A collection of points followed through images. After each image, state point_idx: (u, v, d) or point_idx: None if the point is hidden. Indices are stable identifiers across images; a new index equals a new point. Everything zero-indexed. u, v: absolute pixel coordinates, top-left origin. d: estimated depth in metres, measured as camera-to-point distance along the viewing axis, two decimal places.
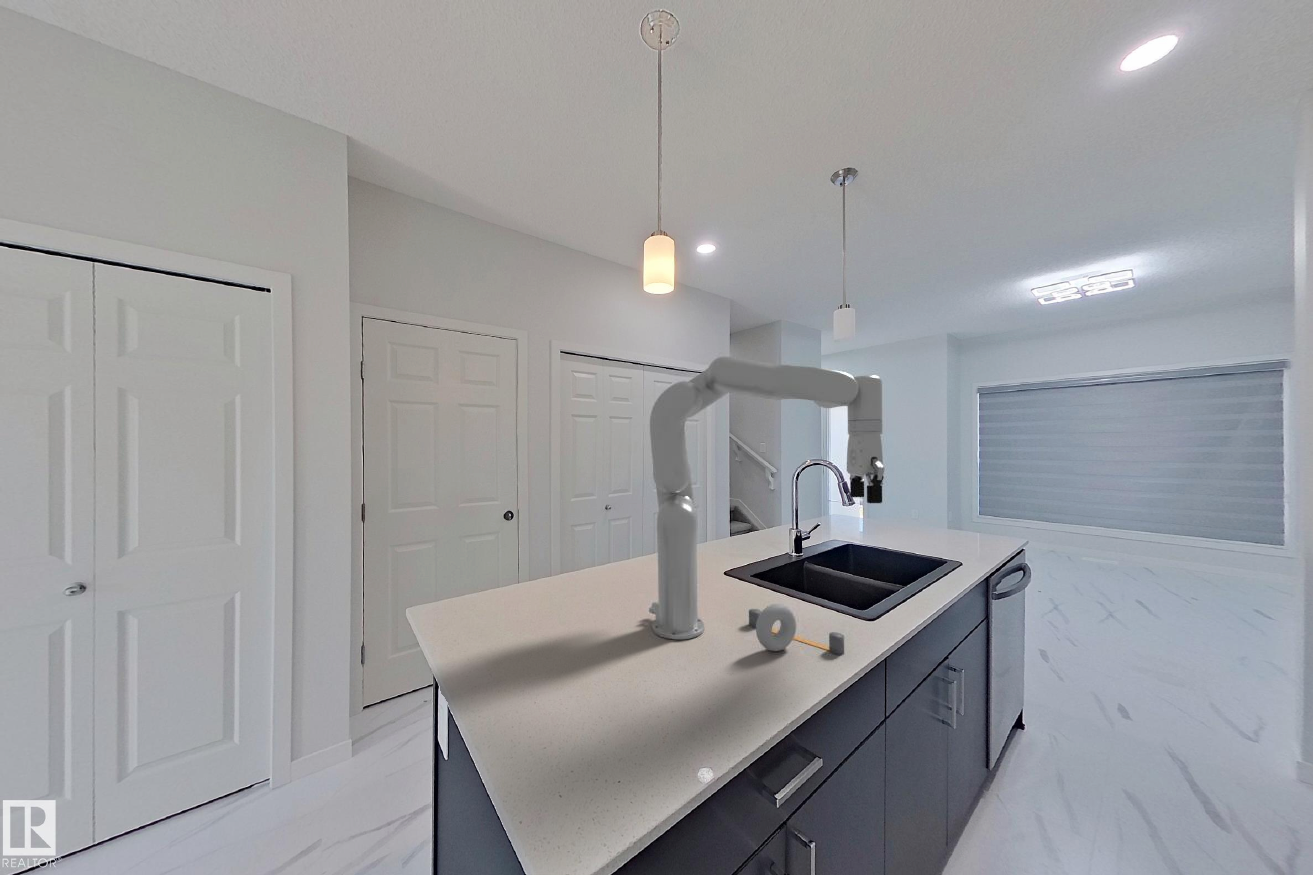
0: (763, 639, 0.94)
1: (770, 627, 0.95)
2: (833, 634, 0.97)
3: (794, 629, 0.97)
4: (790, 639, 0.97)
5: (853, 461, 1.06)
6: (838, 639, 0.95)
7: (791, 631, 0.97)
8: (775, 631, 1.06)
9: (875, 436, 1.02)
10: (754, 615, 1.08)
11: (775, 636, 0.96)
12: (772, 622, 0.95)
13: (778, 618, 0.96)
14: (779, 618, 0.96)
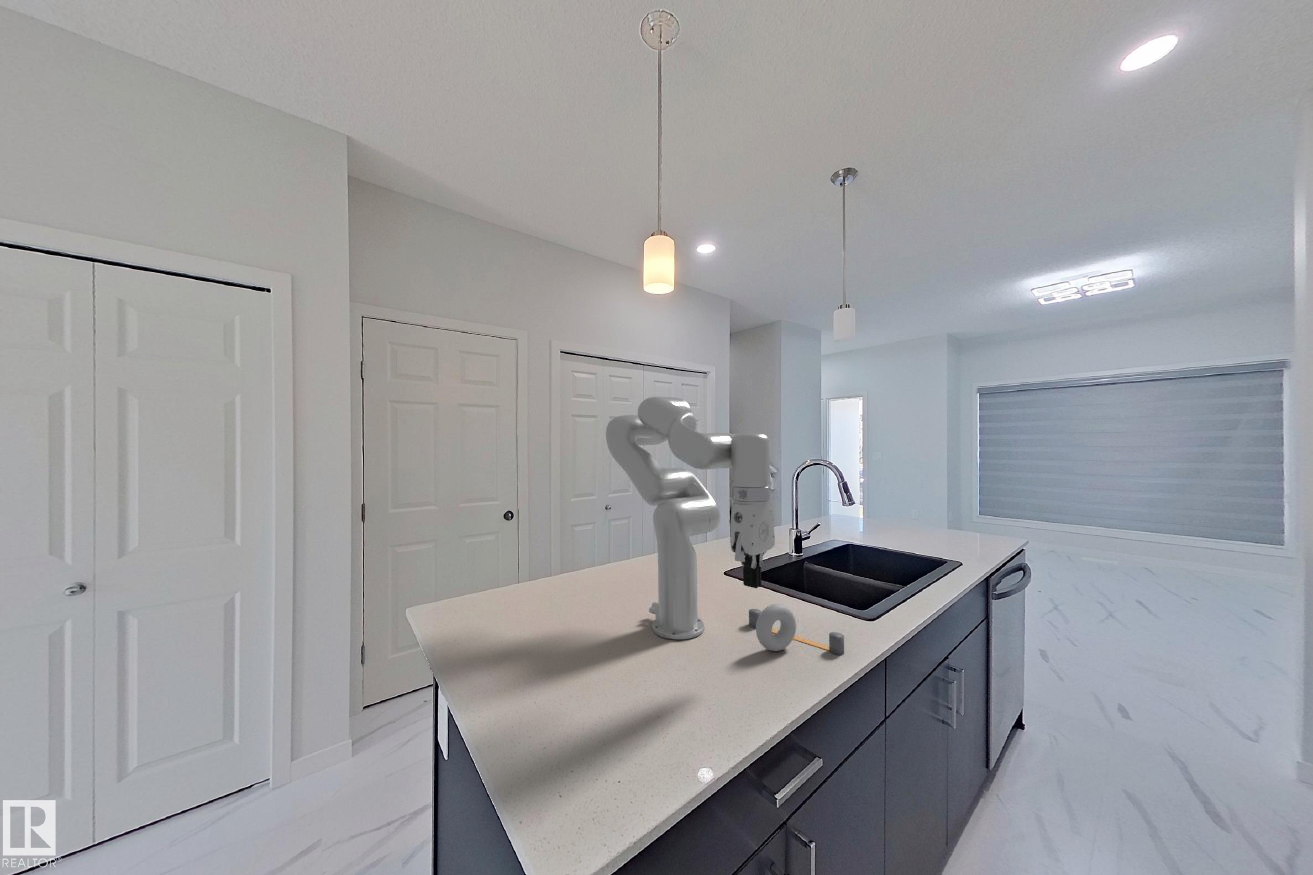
0: (763, 639, 0.94)
1: (770, 627, 0.95)
2: (833, 634, 0.97)
3: (794, 629, 0.97)
4: (790, 639, 0.97)
5: (763, 535, 0.88)
6: (838, 639, 0.95)
7: (791, 631, 0.97)
8: (775, 631, 1.06)
9: None
10: (754, 615, 1.08)
11: (775, 636, 0.96)
12: (772, 622, 0.95)
13: (778, 618, 0.96)
14: (779, 618, 0.96)
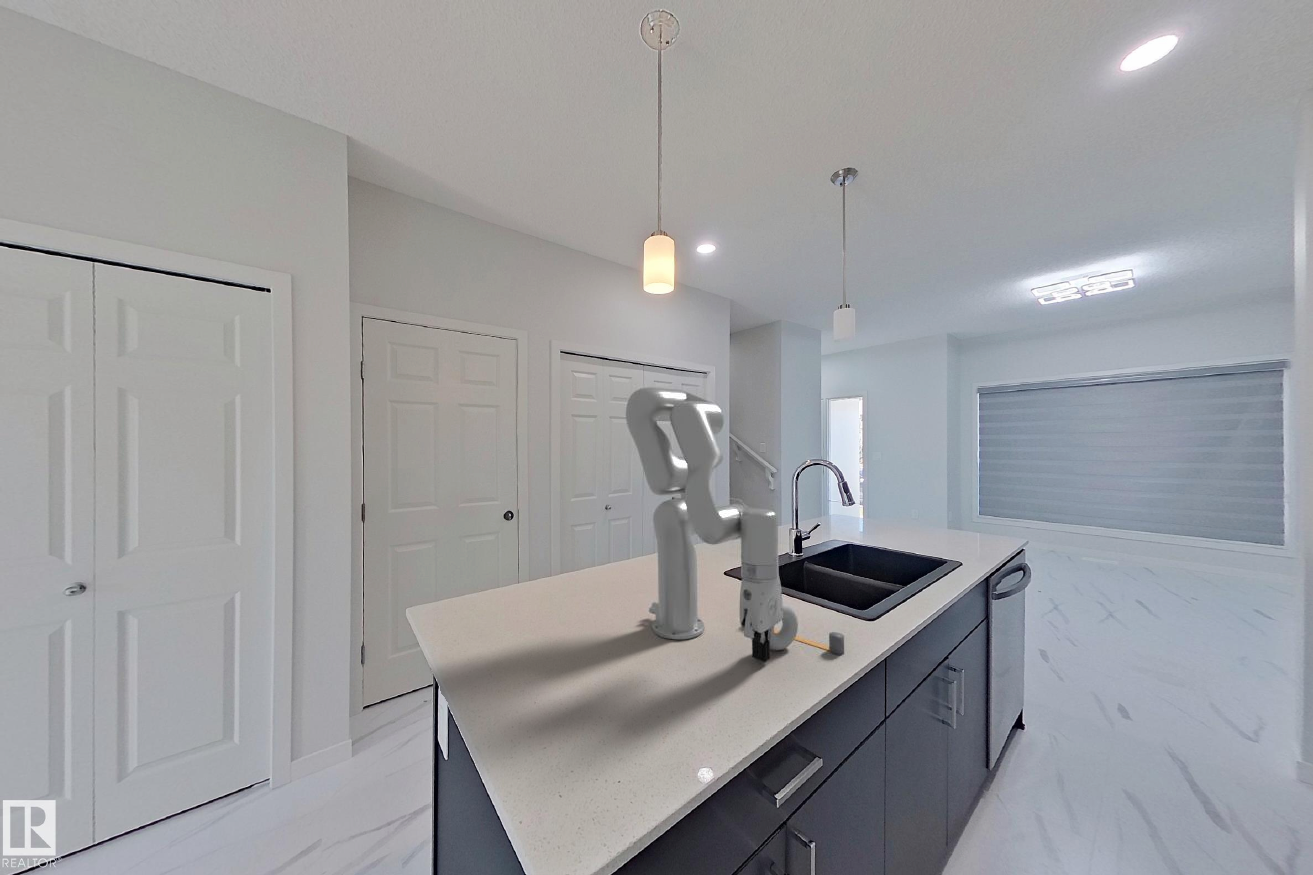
0: None
1: None
2: (833, 634, 0.97)
3: (796, 628, 0.98)
4: (792, 638, 0.97)
5: (772, 611, 0.90)
6: (838, 639, 0.95)
7: (793, 630, 0.97)
8: (775, 631, 1.06)
9: None
10: None
11: (777, 635, 0.97)
12: None
13: None
14: None
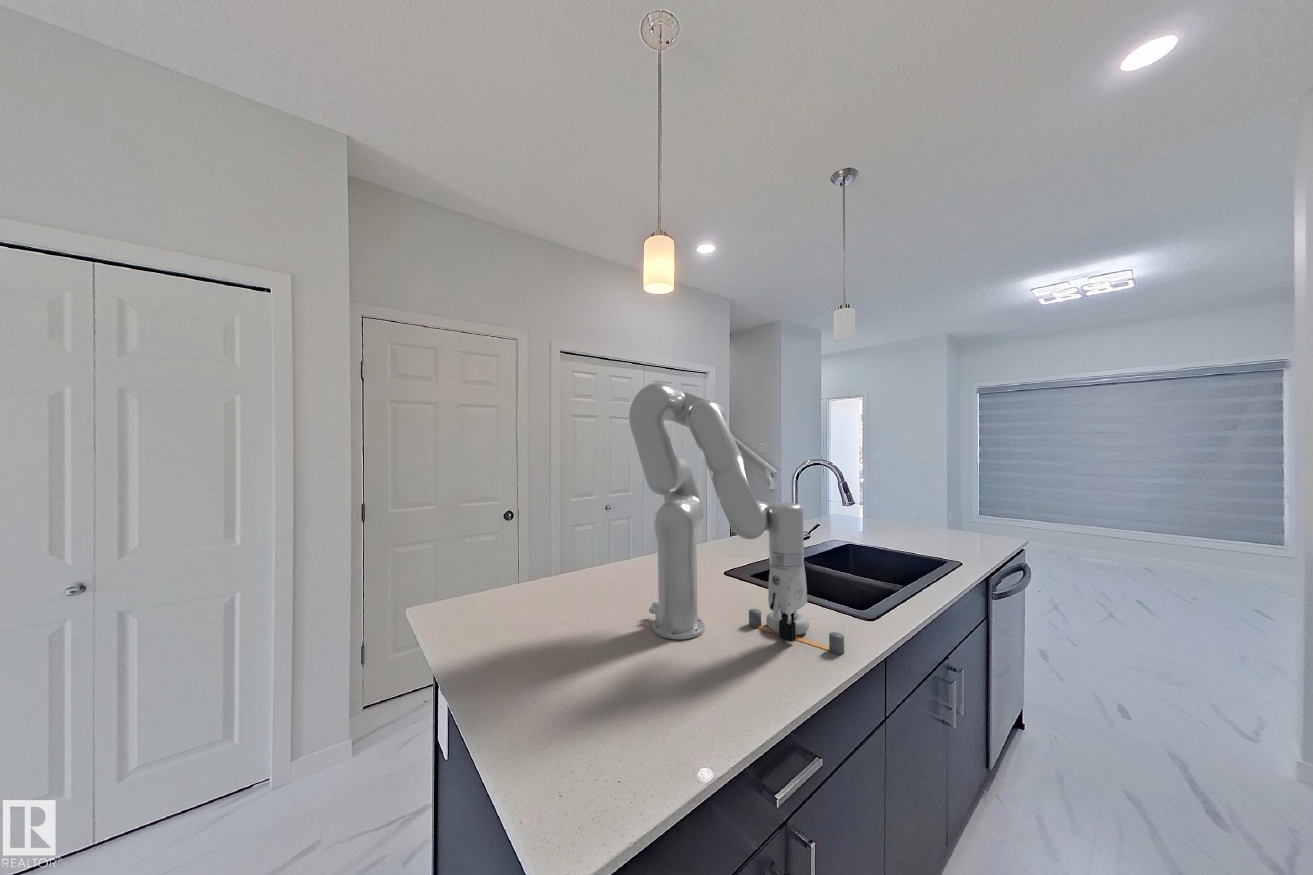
0: (768, 616, 1.08)
1: None
2: (833, 634, 0.97)
3: (803, 618, 1.06)
4: (797, 620, 1.04)
5: (798, 595, 0.99)
6: (838, 639, 0.95)
7: (799, 618, 1.06)
8: None
9: None
10: (754, 615, 1.08)
11: None
12: None
13: None
14: None
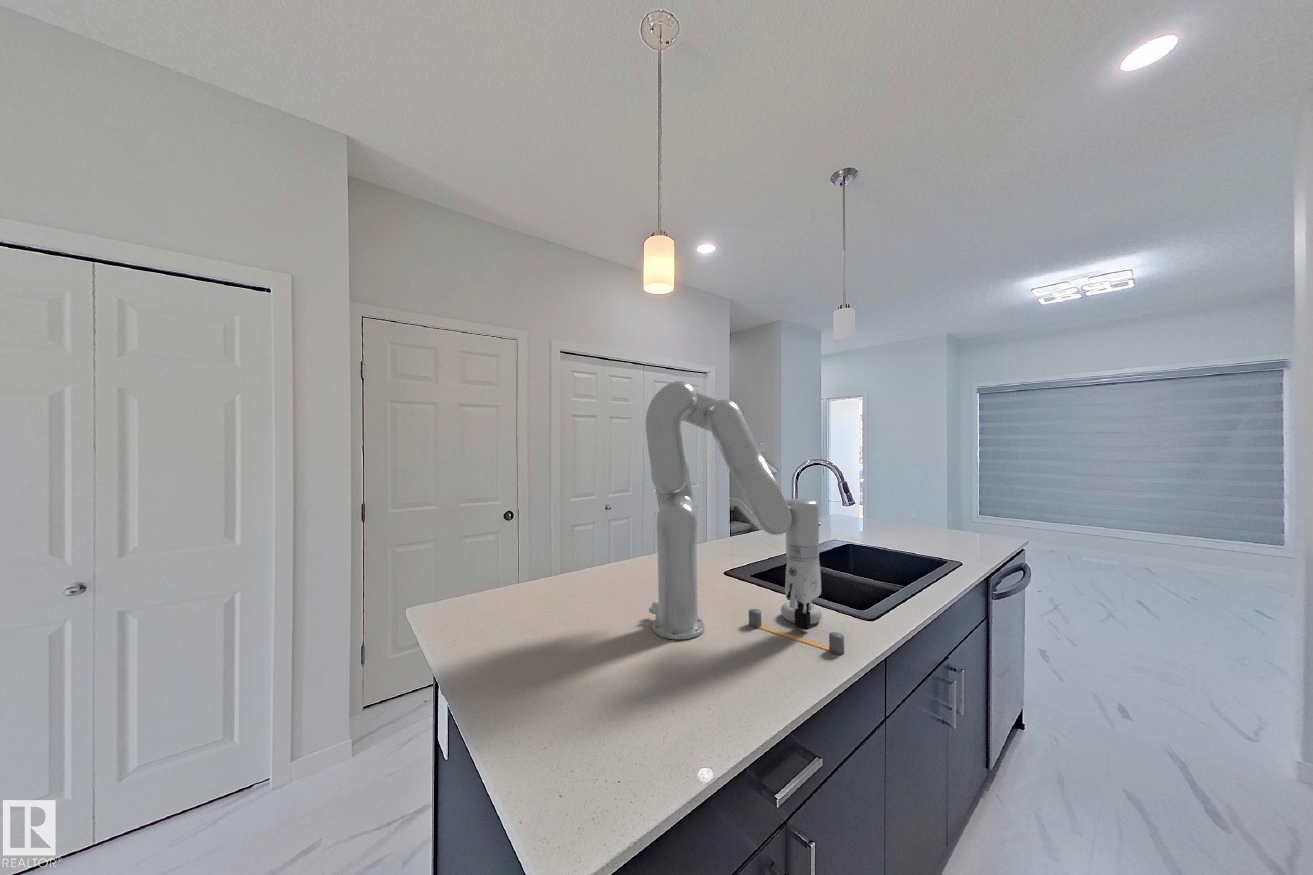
0: (783, 606, 1.14)
1: None
2: (833, 634, 0.97)
3: (816, 609, 1.11)
4: (810, 610, 1.10)
5: (813, 586, 1.05)
6: (838, 639, 0.95)
7: (812, 608, 1.12)
8: (775, 631, 1.06)
9: None
10: (754, 615, 1.08)
11: None
12: None
13: None
14: None
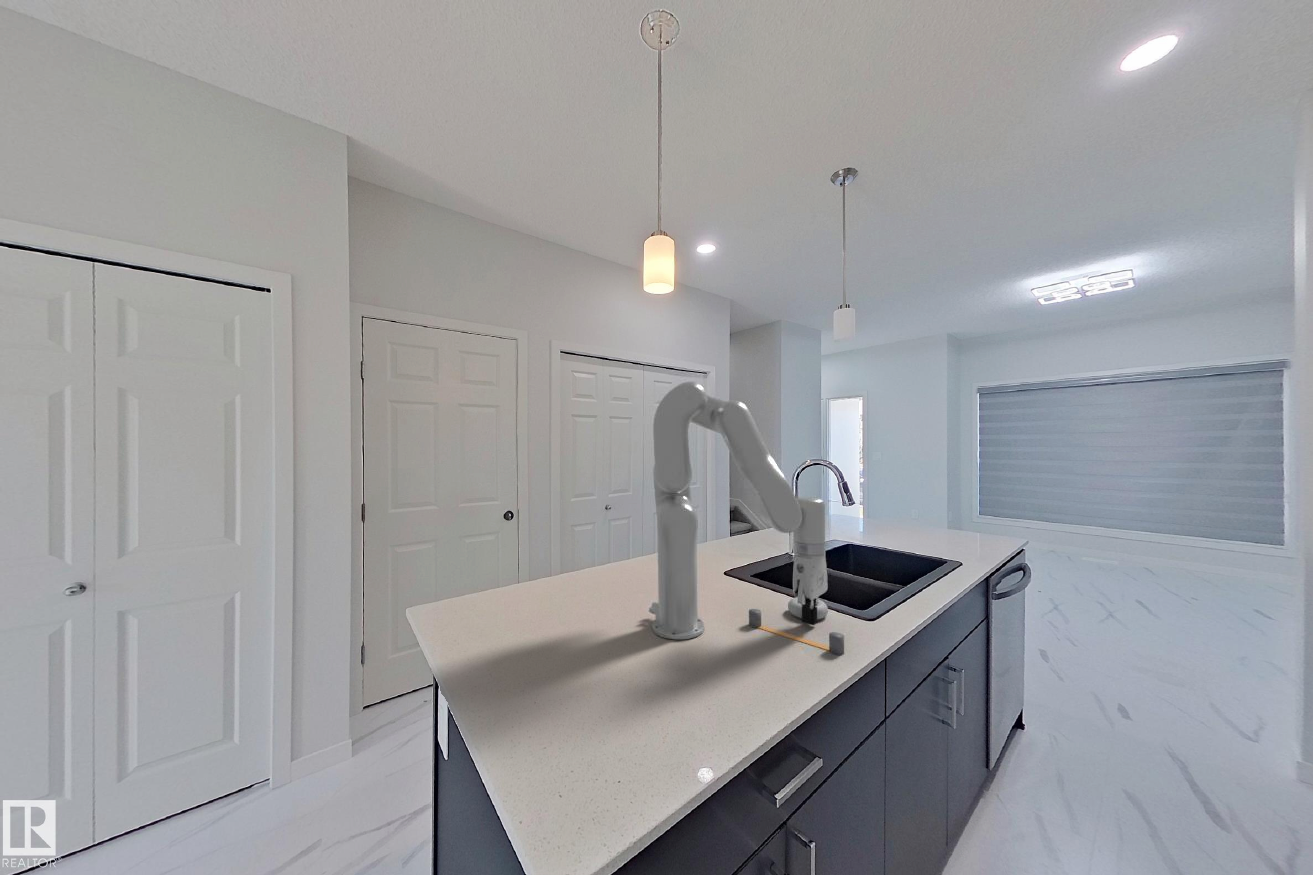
0: (790, 602, 1.17)
1: (797, 598, 1.18)
2: (833, 634, 0.97)
3: (822, 604, 1.14)
4: None
5: (820, 582, 1.08)
6: (838, 639, 0.95)
7: (818, 604, 1.14)
8: (775, 631, 1.06)
9: None
10: (754, 615, 1.08)
11: None
12: None
13: None
14: None
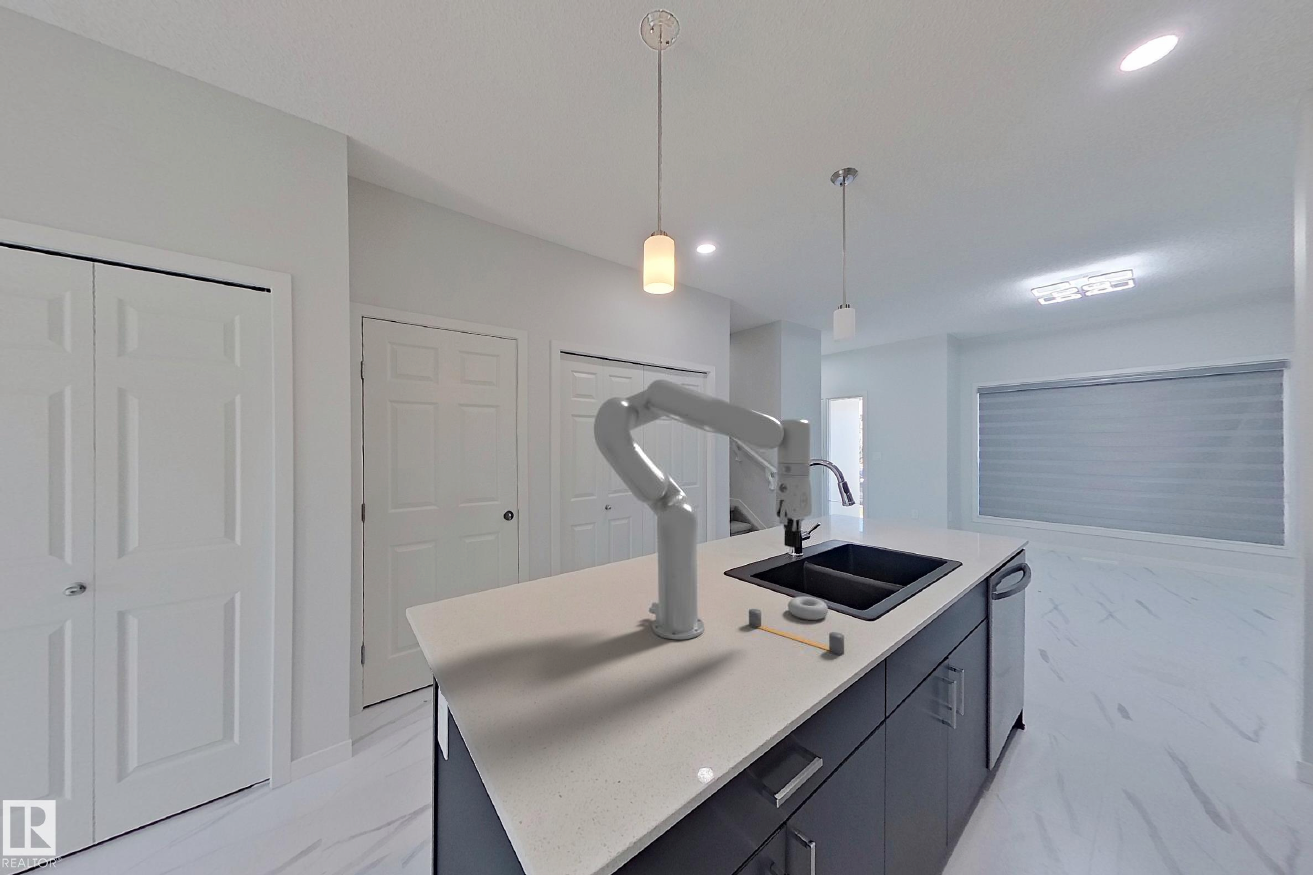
0: (790, 602, 1.17)
1: (797, 598, 1.18)
2: (833, 634, 0.97)
3: (822, 604, 1.14)
4: (816, 606, 1.13)
5: (803, 504, 1.06)
6: (838, 639, 0.95)
7: (818, 604, 1.14)
8: (775, 631, 1.06)
9: None
10: (754, 615, 1.08)
11: None
12: (799, 597, 1.19)
13: (806, 598, 1.19)
14: (808, 599, 1.19)
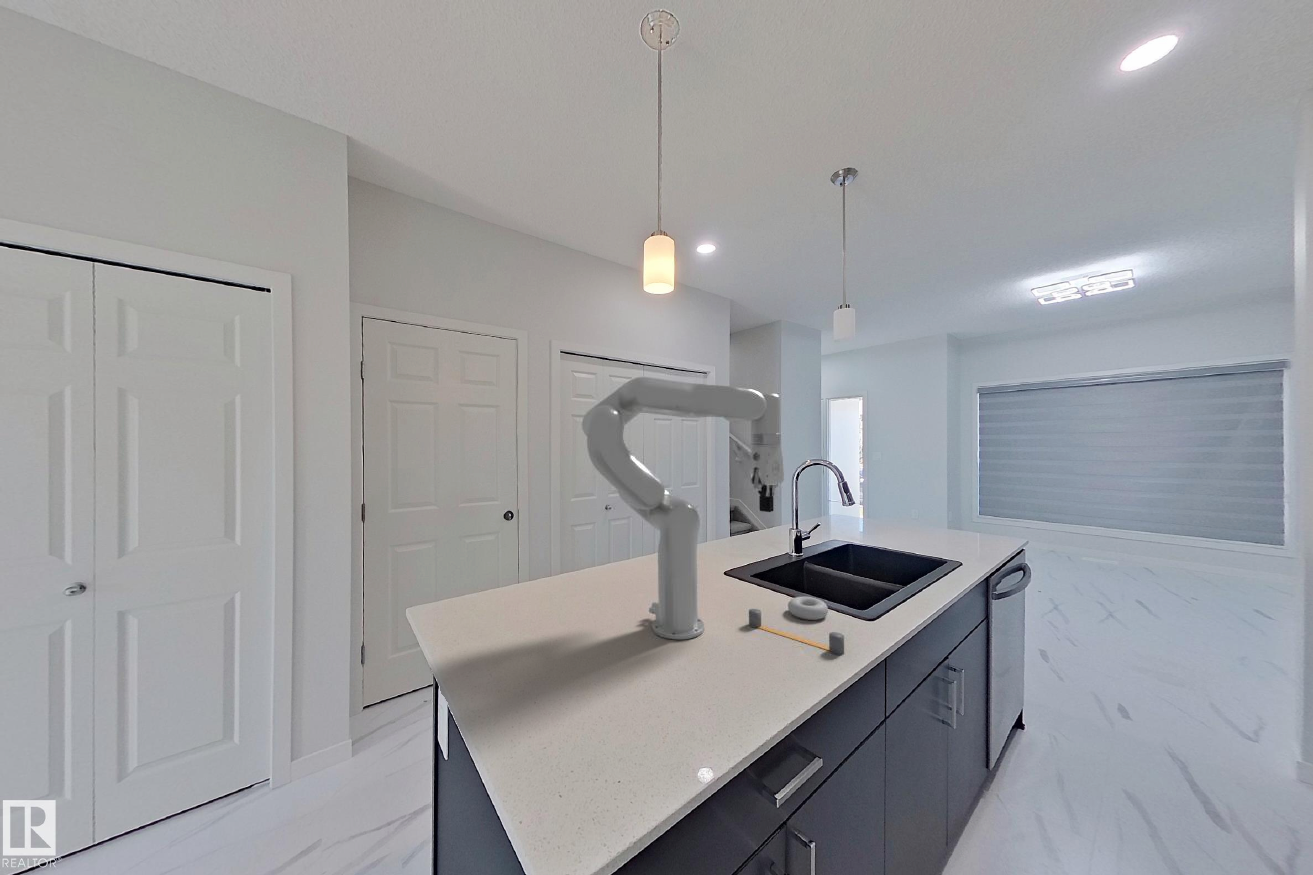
0: (790, 602, 1.17)
1: (797, 598, 1.18)
2: (833, 634, 0.97)
3: (822, 604, 1.14)
4: (816, 606, 1.13)
5: (775, 471, 1.14)
6: (838, 639, 0.95)
7: (818, 604, 1.14)
8: (775, 631, 1.06)
9: None
10: (754, 615, 1.08)
11: None
12: (799, 597, 1.19)
13: (806, 598, 1.19)
14: (808, 599, 1.19)
